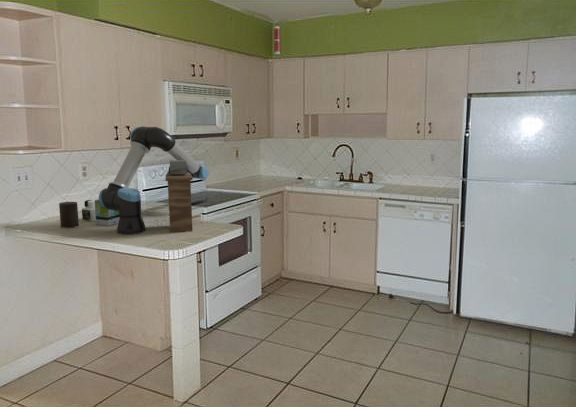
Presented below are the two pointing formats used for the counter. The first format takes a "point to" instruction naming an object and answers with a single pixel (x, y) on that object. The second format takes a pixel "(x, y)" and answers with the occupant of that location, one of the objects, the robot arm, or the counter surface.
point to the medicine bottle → (89, 211)
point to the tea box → (105, 215)
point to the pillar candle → (68, 214)
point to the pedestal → (179, 202)
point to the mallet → (178, 167)
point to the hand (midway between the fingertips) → (177, 163)
